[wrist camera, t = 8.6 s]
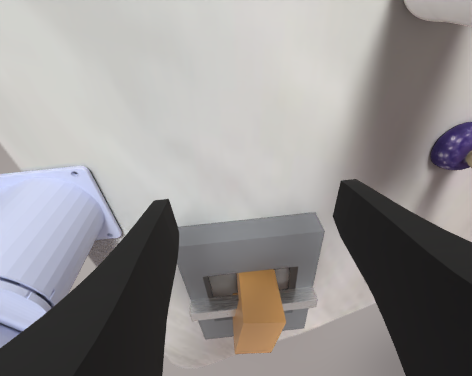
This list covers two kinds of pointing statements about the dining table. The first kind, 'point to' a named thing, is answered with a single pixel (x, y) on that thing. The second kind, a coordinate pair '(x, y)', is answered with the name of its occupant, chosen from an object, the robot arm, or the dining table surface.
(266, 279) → the tall orange box
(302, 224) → the gray rectangular frame
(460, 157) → the toy lamp
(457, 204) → the dining table surface
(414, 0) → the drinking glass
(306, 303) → the hook bar
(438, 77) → the dining table surface
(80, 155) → the dining table surface
